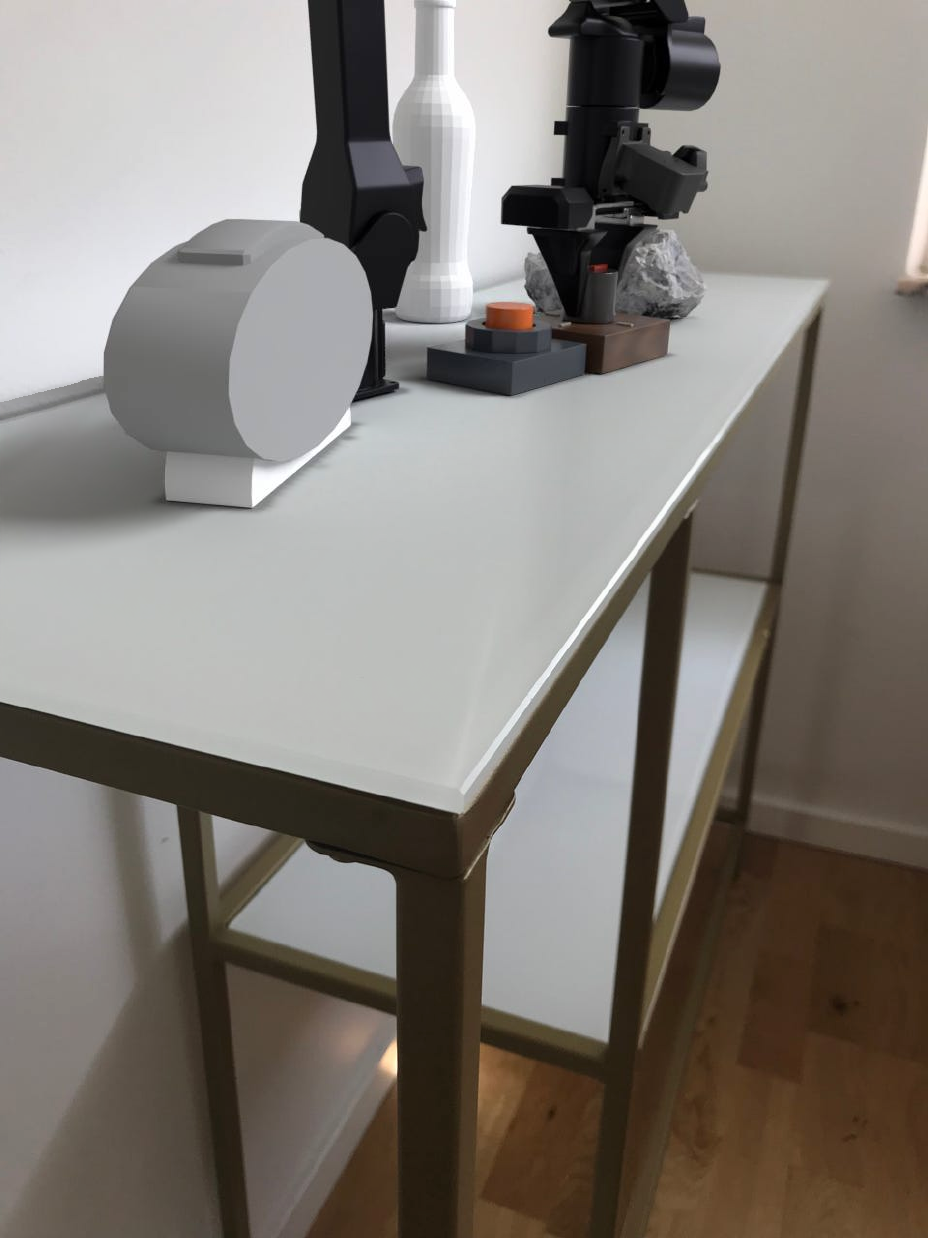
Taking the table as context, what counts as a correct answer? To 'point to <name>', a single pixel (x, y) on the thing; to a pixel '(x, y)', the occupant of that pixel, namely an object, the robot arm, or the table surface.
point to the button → (509, 315)
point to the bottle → (437, 171)
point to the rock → (635, 280)
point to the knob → (597, 296)
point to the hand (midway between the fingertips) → (587, 313)
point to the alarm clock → (240, 356)
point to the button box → (506, 358)
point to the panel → (613, 339)
